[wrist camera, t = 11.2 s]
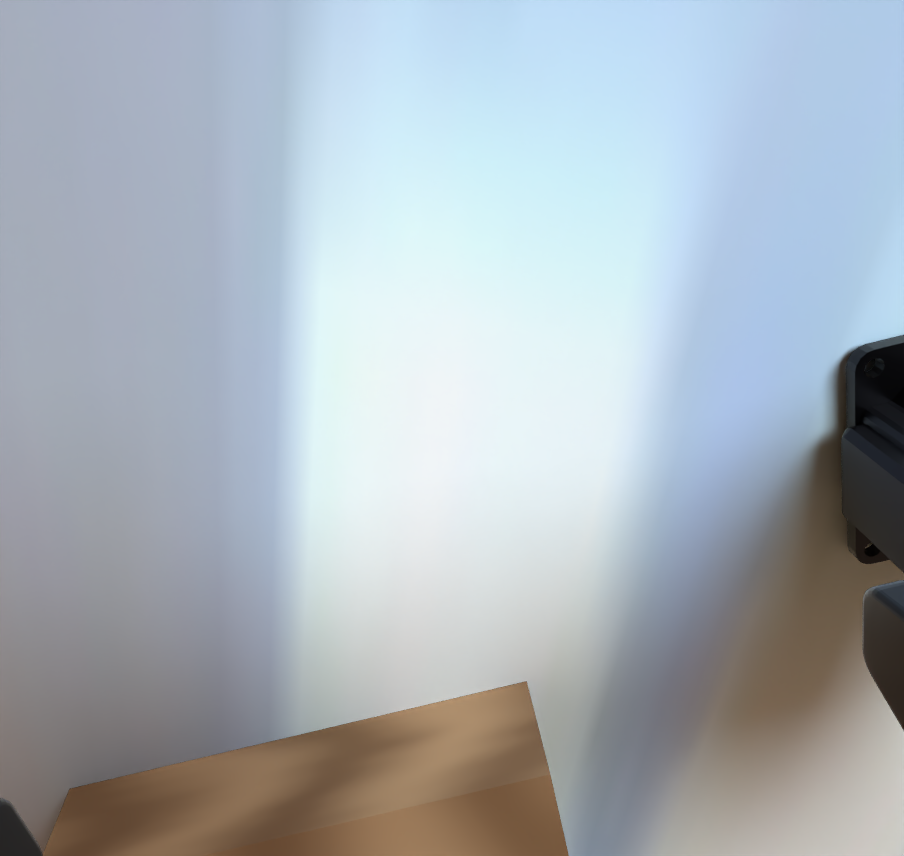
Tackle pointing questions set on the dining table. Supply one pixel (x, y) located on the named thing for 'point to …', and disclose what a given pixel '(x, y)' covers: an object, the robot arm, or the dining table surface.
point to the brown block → (340, 792)
